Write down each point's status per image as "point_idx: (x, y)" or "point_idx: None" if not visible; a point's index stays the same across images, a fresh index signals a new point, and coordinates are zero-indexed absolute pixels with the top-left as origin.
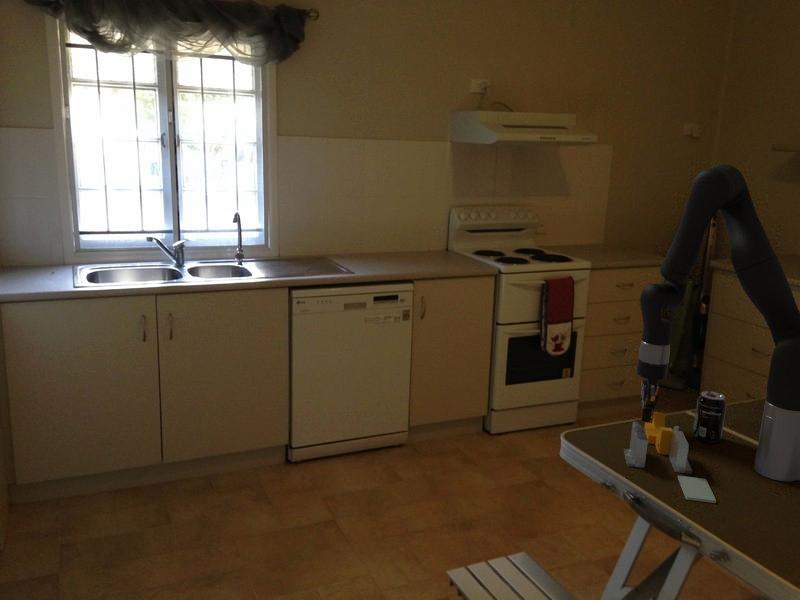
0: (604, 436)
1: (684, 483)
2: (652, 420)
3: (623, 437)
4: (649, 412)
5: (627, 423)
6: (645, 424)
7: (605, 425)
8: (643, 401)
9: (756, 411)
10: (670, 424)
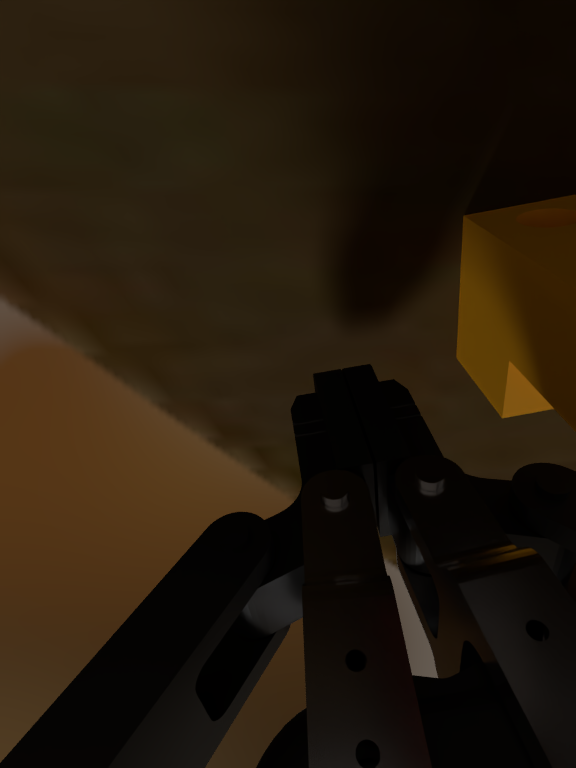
0: None
1: None
2: (532, 377)
3: (561, 463)
4: (433, 448)
5: (295, 467)
6: (532, 406)
7: (387, 557)
8: (421, 614)
9: None
10: (101, 103)
